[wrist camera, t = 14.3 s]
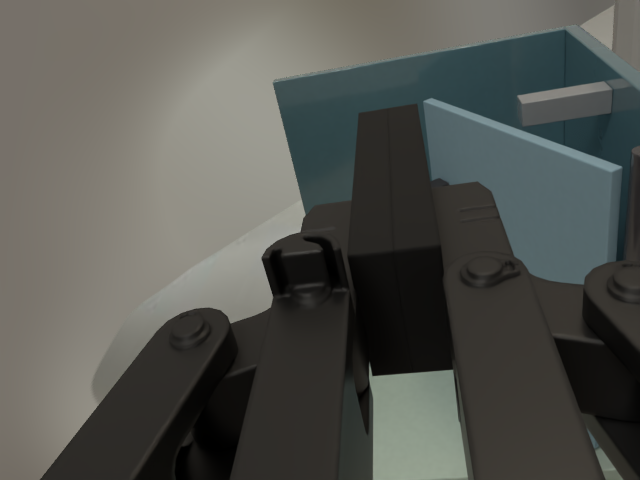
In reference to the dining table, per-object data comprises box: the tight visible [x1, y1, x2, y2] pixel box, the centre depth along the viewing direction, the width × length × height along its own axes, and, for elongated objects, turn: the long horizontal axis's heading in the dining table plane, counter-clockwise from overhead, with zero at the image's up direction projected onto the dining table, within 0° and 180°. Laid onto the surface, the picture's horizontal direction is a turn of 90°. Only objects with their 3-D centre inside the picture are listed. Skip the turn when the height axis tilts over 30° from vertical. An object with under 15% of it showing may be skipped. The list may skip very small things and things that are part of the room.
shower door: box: [423, 98, 623, 448], centre depth 31 cm, size 13×2×16 cm, turn 25°
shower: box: [273, 25, 640, 480], centre depth 33 cm, size 18×16×19 cm
